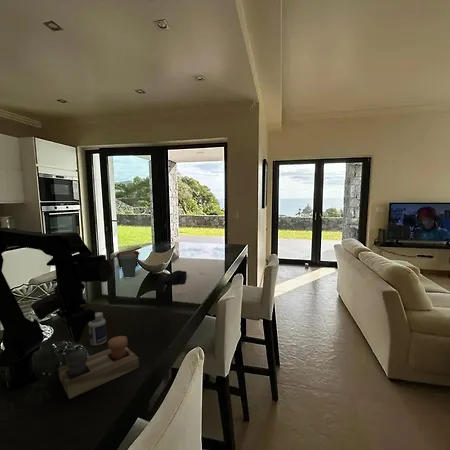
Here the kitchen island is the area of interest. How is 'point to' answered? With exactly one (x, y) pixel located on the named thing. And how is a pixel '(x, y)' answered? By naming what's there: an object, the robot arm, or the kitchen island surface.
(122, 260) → the disposable coffee cup
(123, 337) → the terracotta plug
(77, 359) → the plug
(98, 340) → the pill bottle
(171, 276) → the dark slate chunk
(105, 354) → the plug board
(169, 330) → the kitchen island surface
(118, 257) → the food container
